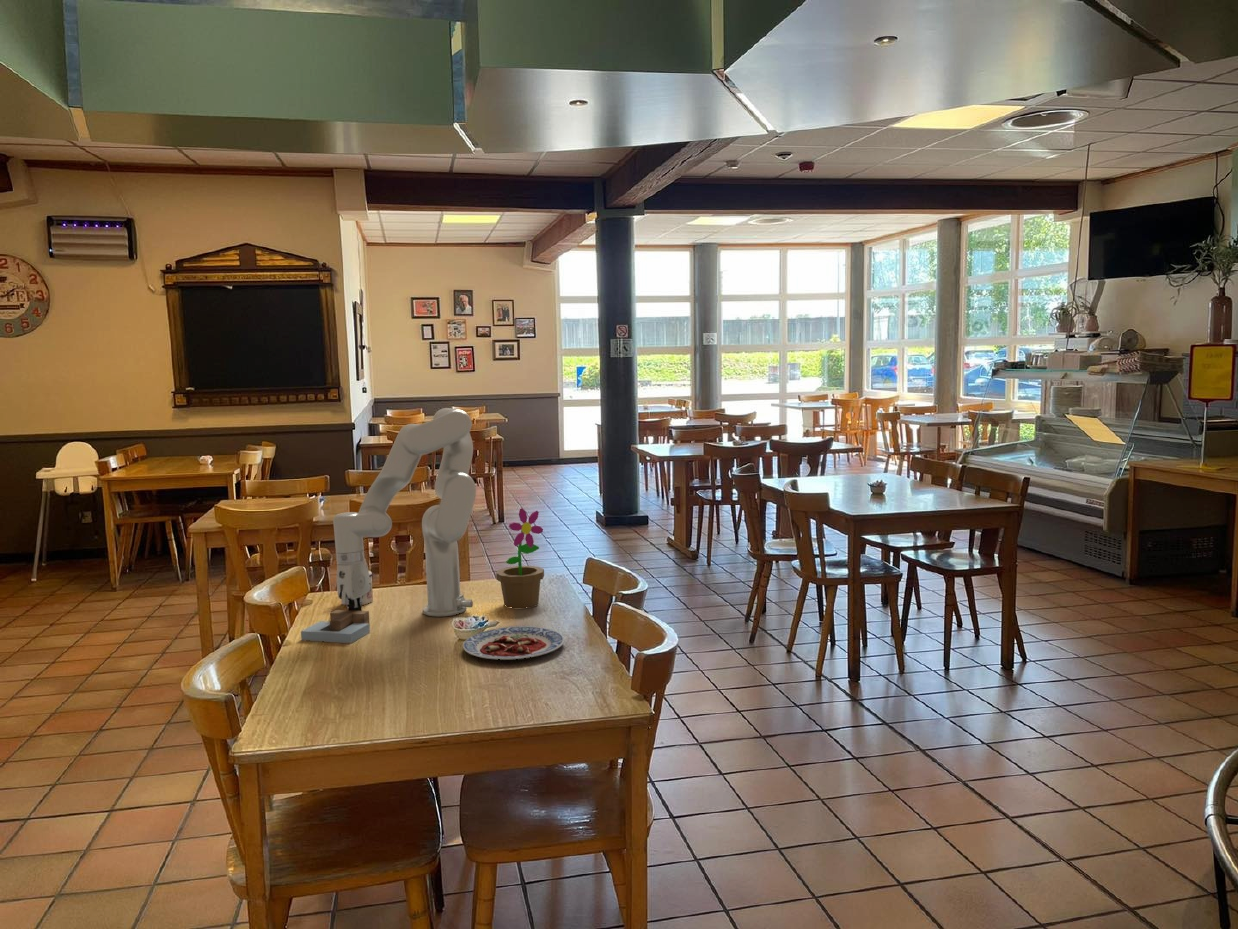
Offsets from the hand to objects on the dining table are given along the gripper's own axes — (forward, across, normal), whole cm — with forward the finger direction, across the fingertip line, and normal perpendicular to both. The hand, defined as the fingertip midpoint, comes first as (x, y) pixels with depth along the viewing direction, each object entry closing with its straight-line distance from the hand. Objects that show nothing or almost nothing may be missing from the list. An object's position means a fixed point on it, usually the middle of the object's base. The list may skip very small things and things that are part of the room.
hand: (355, 620), depth 255 cm
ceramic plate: (+3, -10, -52) cm, 53 cm away
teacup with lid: (+2, +23, +14) cm, 27 cm away
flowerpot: (+3, +30, -38) cm, 48 cm away
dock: (+1, -10, 0) cm, 10 cm away
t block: (+1, -7, -1) cm, 7 cm away
